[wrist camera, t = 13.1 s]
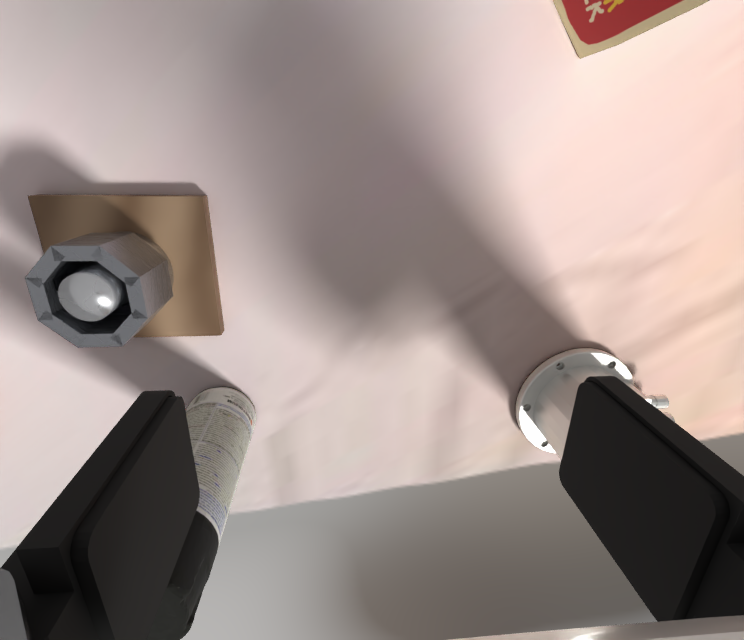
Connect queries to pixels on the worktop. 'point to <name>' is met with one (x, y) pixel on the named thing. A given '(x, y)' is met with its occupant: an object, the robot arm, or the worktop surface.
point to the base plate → (166, 228)
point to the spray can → (206, 500)
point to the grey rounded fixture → (98, 289)
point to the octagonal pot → (121, 258)
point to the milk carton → (615, 20)
